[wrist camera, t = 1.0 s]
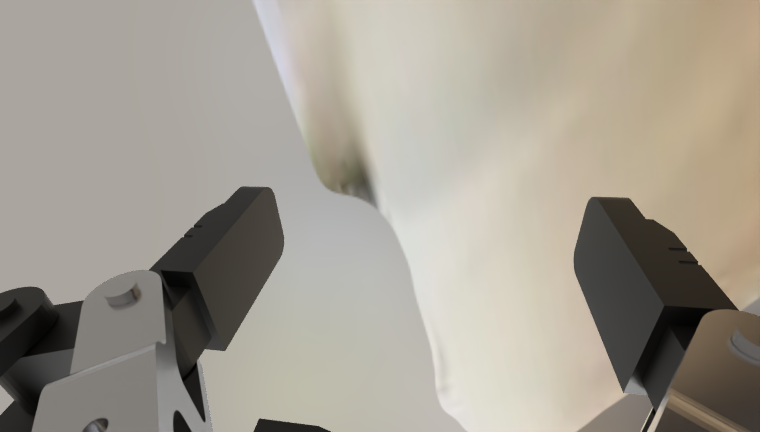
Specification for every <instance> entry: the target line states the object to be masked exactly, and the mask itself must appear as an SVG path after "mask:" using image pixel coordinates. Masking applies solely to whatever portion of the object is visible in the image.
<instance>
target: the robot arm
mask: <svg viewBox="0 0 760 432" xmlns="http://www.w3.org/2000/svg"><path fill="white" fill-rule="evenodd" d="M283 247H284V235H283V230H282V226H281V221H280V217H279V213H278V209H277V204H276V199H275V195H274V193H273V191H272V189H271V188H269V187H240V188H239V189H238V190H237V191H236V192H235V193H234V194H233V195H232V196H231V197H230V198H229V199H228V200H227V201H226V202H225V203H224V204H221V205H220V206H218V207H216V208H214V209H213V210H211V211H209V212H207V213H206V214H205V215H204V216H203V217H202V218H201V219H200V220H199V221H198V222H197V223H196V224H195V225H194V228H191V229H190V230H189V231H188V232H187V233H186V234H185V235H184V237H182V238H181V239H180V240H179V241H178V242H177V243H176V244H175V245H174V246H173V247H172V248H171V249H170V250H169V251H168V252H167V253H166V254H165V255H164V256H162V258H160V260H158V262H156V263H155V264H154V266H152V267H151V269H149V270H138V271H131V272H127V273H124V274H121V275H118V276H116V277H114V278H111V279H109V280H107V281H106V282H104V283H102V284H101V285H99V286H98V287H96V288H95V289H94V290H93V291H92V292H91V293H90V294H89V295H88V296H87V297H86V298H85V300H84V301H78V302H72V303H65V304H59V305H53V304H52V303H51V301H50V300H49V298H48V297H47V295H46V294H45V293H44V291H43V290H42V289H40V288H37V287H22V288H17V289H12V290H9V291H6V292H3V293H0V385H1V386H2V387H3V388H4V389H5V390H6V391H7V392H8V394H9V395H10V396H11V397H12V398H13V399H14V401H13V403H12V404H11V405H10V406H9V407H8V408H7V409H6V410H5V411H4V412H3V413H2V414H1V415H0V432H213V429H212V423H211V417H210V411H209V405H208V400H207V393H206V388H205V382H204V376H203V370H202V365H201V363H200V360H199V357H200V355H201V354H202V352H203V351H204V349H210V350H220V351H225V350H226V349H227V347H228V345H229V343H230V342H231V340H232V338H233V337H234V335H235V333H236V332H237V330H238V328H239V327H240V325H241V323H242V321H243V320H244V318H245V316H246V315H247V313H248V311H249V310H250V308H251V306H252V305H253V303H254V301H255V300H256V298H257V296H258V294H259V293H260V291H261V289H262V288H263V286H264V284H265V283H266V281H267V279H268V278H269V276H270V274H271V273H272V271H273V269H274V267H275V266H276V264H277V262H278V260H279V259H280V257H281V255H282V252H283ZM574 270H575V274H576V277H577V279H578V282H579V284H580V287H581V289H582V292H583V294H584V297H585V299H586V301H587V304H588V306H589V309H590V311H591V314H592V316H593V319H594V321H595V324H596V326H597V329H598V331H599V334H600V336H601V339H602V341H603V344H604V346H605V349H606V351H607V354H608V356H609V358H610V361H611V363H612V366H613V368H614V371H615V373H616V376H617V378H618V381H619V383H620V386H621V388H622V391H623V393H628V394H639V395H648V397H649V399H650V401H651V403H652V405H653V408H652V409H651V411H650V413H649V415H648V417H647V419H646V421H645V423H644V425H643V427H642V430H641V432H760V316H757V315H755V314H751V313H747V312H743V311H739V310H738V309H737V308H736V306H735V305H734V304H733V303H732V302H731V300H730V299H729V298H728V297H727V296H726V294H725V293H724V292H723V291H722V290H721V288H720V287H719V286H718V285H717V284H716V283H715V281H714V280H713V279H712V278H711V277H710V275H709V274H708V273H707V272H706V271H705V269H704V268H703V267H702V266H701V265H698V261H697V260H696V259H695V257H694V256H693V255H692V254H691V253H690V252H687V248H686V247H685V246H684V244H683V243H682V242H681V241H680V240H679V238H678V237H677V236H676V235H675V234H674V233H673V232H672V231H670V230H668V229H667V228H665V227H664V226H662V225H661V224H659V223H657V222H656V221H654V220H650V219H645V217H644V216H643V215H642V214H641V212H640V211H639V210H638V208H637V207H636V206H635V205H634V203H633V202H632V201H631V200H630V199H629V198H618V197H592V198H591V199H590V200H589V201H588V203H587V206H586V210H585V213H584V217H583V221H582V225H581V228H580V232H579V236H578V240H577V243H576V247H575V251H574ZM254 432H331V431H328V430H326V429H323V428H321V427H319V426H313V425H305V424H297V423H290V422H282V421H273V420H266V419H259V420H258V423H257V425H256V427H255V430H254Z"/></svg>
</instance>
